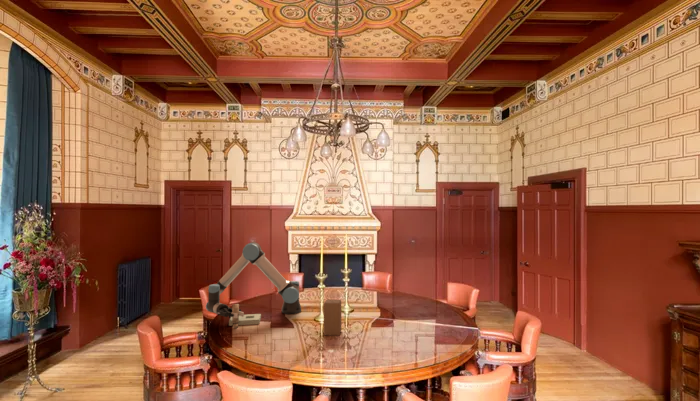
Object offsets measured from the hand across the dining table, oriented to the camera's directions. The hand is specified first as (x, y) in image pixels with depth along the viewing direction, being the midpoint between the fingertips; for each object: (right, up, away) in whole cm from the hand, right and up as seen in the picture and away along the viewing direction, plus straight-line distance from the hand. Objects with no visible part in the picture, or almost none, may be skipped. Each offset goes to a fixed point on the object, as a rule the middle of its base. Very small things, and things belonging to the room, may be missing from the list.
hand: (240, 315), depth 230 cm
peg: (-4, -9, +3) cm, 10 cm away
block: (+61, -9, -9) cm, 62 cm away
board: (-1, -10, +16) cm, 19 cm away
